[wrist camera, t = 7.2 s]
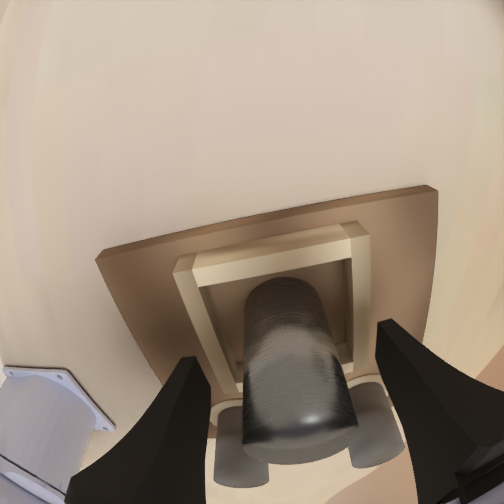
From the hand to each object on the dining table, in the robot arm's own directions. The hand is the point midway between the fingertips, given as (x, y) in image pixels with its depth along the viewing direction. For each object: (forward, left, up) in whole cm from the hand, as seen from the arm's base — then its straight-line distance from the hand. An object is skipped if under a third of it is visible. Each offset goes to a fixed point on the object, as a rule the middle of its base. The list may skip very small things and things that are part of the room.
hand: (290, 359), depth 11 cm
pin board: (0, -3, -4) cm, 5 cm away
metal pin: (0, 0, -3) cm, 3 cm away
